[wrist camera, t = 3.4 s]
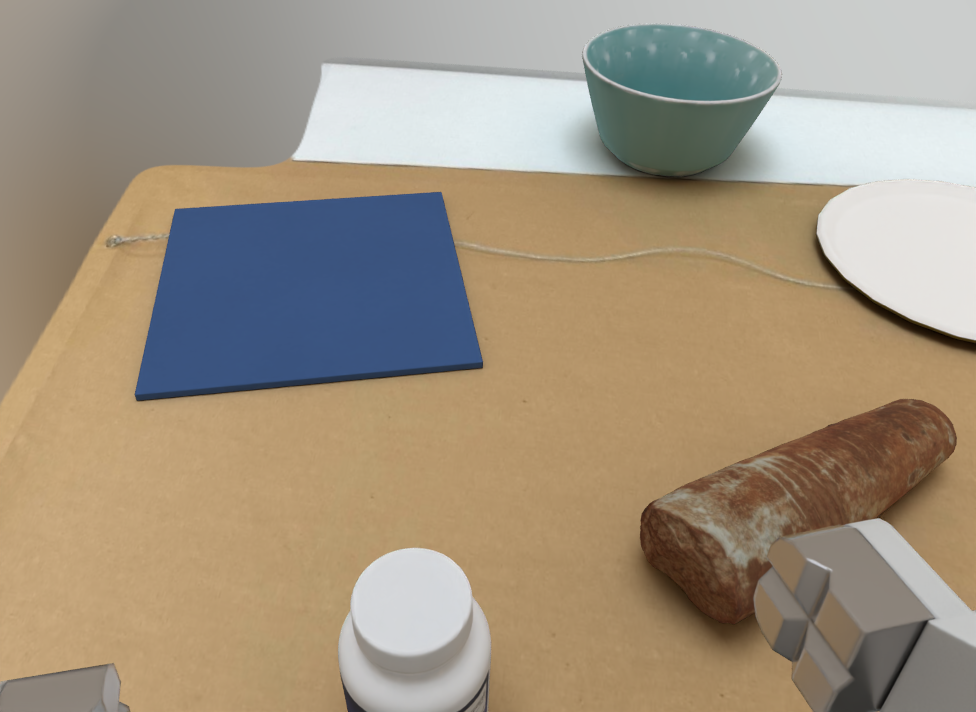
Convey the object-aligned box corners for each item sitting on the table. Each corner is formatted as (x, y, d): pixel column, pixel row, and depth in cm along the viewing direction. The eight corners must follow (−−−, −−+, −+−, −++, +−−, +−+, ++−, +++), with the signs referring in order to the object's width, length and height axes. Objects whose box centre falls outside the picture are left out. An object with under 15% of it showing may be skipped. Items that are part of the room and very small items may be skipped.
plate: (1140, 404, 48) (1152, 388, 48) (785, 299, 55) (790, 284, 54) (1118, 234, 62) (1127, 220, 62) (837, 167, 69) (842, 154, 68)
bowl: (774, 135, 73) (800, 44, 68) (732, 218, 63) (758, 117, 57) (610, 98, 78) (621, 10, 73) (544, 169, 68) (552, 72, 62)
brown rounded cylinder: (618, 557, 39) (635, 482, 36) (881, 418, 47) (918, 345, 43) (707, 664, 35) (736, 592, 32) (979, 493, 43) (1028, 419, 39)
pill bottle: (364, 663, 35) (343, 525, 29) (489, 668, 35) (496, 531, 29) (343, 797, 31) (313, 672, 25) (485, 803, 31) (492, 679, 25)
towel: (136, 401, 46) (134, 394, 46) (176, 214, 61) (174, 208, 61) (482, 368, 49) (483, 361, 49) (441, 197, 64) (441, 191, 64)
